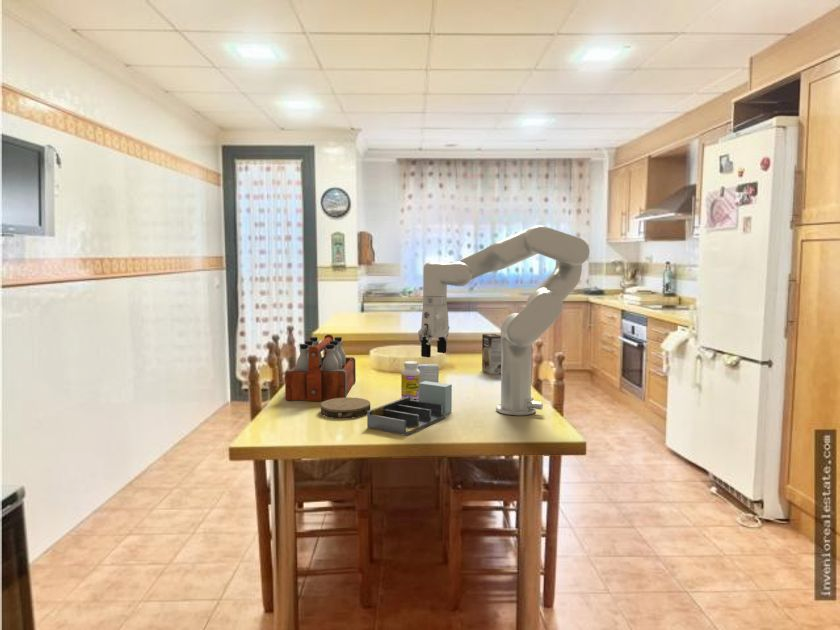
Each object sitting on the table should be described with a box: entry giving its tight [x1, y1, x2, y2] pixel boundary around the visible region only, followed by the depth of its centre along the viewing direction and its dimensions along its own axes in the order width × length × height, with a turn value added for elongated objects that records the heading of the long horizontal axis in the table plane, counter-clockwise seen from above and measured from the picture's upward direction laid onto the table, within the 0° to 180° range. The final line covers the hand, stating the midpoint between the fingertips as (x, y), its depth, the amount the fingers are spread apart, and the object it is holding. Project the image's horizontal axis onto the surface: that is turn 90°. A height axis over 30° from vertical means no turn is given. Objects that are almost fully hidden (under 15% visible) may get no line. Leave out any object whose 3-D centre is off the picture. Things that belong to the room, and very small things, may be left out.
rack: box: [366, 396, 446, 437], centre depth 174 cm, size 14×21×5 cm, turn 147°
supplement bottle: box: [400, 360, 420, 400], centre depth 204 cm, size 7×7×13 cm
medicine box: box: [417, 363, 440, 383], centre depth 222 cm, size 8×4×9 cm, turn 92°
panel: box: [418, 381, 453, 415], centre depth 188 cm, size 10×4×9 cm, turn 57°
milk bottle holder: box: [284, 333, 357, 402], centre depth 215 cm, size 21×35×19 cm, turn 179°
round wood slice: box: [320, 397, 371, 419], centre depth 187 cm, size 16×16×3 cm
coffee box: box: [481, 333, 502, 375], centre depth 251 cm, size 9×6×16 cm
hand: (434, 354), depth 186 cm, fingers open, 9 cm apart
